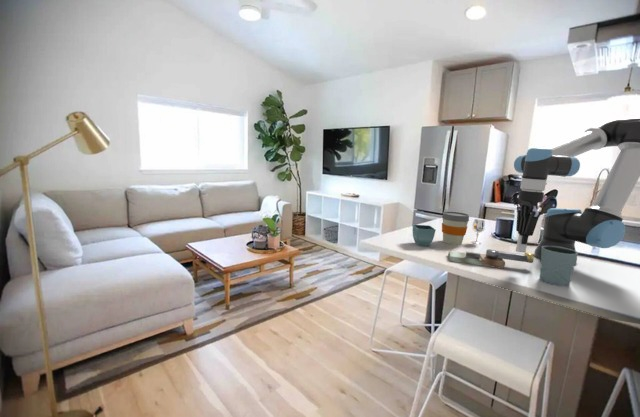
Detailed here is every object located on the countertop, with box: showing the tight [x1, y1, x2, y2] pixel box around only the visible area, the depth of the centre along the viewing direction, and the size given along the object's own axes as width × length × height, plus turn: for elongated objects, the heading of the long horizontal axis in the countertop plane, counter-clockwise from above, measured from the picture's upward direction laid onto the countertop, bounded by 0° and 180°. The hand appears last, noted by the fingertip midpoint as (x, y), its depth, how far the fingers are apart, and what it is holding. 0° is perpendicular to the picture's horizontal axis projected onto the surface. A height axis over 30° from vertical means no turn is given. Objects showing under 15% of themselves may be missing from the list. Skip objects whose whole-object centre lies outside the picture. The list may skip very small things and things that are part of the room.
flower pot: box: [412, 224, 437, 247], centre depth 147 cm, size 9×9×9 cm
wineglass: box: [471, 219, 486, 245], centre depth 154 cm, size 6×6×12 cm
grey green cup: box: [539, 246, 579, 287], centre depth 108 cm, size 10×10×12 cm
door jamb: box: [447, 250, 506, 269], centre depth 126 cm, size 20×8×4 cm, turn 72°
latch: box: [485, 249, 535, 264], centre depth 122 cm, size 17×4×3 cm, turn 72°
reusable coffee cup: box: [441, 211, 470, 246], centre depth 153 cm, size 13×13×15 cm
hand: (520, 251), depth 115 cm, fingers closed
